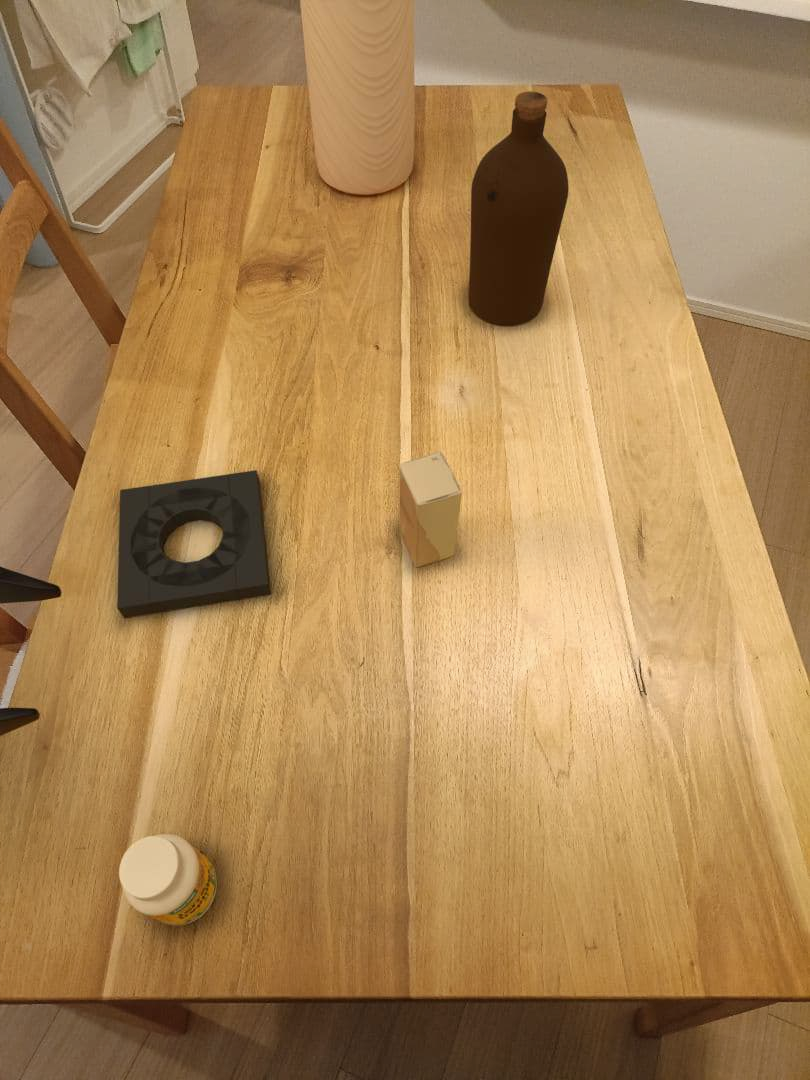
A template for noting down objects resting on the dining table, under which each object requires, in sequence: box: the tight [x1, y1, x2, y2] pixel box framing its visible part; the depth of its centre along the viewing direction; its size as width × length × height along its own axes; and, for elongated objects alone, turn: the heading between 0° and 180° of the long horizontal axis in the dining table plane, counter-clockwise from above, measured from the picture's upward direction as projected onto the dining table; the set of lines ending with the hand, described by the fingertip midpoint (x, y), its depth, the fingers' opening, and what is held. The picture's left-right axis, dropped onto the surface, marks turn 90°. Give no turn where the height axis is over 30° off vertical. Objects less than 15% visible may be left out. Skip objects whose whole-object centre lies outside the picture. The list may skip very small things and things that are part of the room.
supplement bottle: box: [118, 833, 218, 926], centre depth 56 cm, size 5×5×10 cm
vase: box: [299, 0, 415, 196], centre depth 100 cm, size 14×14×32 cm
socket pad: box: [116, 469, 272, 619], centre depth 76 cm, size 14×14×2 cm
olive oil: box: [467, 90, 570, 327], centre depth 87 cm, size 11×11×25 cm
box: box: [398, 451, 463, 568], centre depth 73 cm, size 5×4×11 cm
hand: (49, 649), depth 53 cm, fingers open, 9 cm apart
